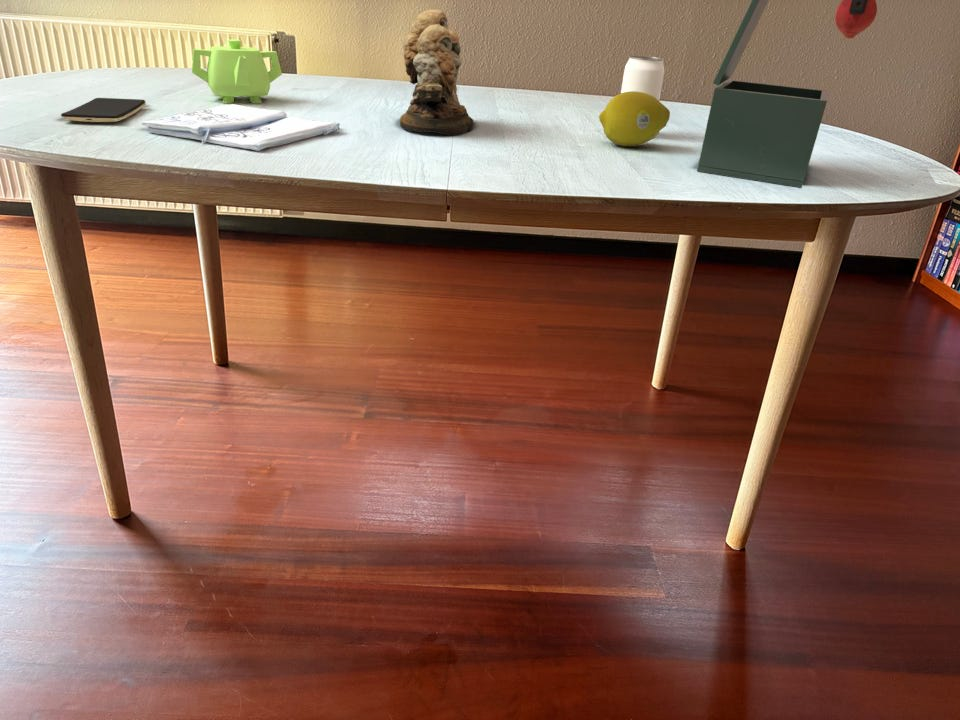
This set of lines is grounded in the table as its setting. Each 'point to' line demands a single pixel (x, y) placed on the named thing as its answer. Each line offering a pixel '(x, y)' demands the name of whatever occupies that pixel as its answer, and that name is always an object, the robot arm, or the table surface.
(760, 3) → the bin lid
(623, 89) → the can
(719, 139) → the trash bin
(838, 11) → the onion
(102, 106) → the smartphone
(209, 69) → the teapot
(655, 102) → the lemon
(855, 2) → the robot arm
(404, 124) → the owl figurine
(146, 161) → the table surface
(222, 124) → the open sketchbook
